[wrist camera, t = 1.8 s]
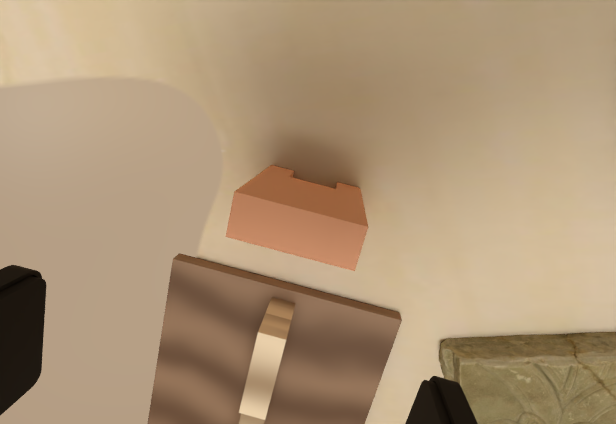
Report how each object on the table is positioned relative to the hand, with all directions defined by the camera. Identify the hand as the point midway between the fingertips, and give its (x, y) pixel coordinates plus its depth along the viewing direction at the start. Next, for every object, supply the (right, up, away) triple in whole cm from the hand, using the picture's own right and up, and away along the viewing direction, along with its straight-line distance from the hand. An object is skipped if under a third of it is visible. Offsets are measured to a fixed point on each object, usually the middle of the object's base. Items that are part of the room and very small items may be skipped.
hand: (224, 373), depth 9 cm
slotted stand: (-2, -11, +25) cm, 27 cm away
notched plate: (+2, +5, +20) cm, 21 cm away
